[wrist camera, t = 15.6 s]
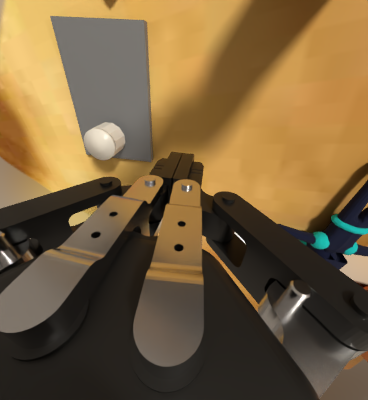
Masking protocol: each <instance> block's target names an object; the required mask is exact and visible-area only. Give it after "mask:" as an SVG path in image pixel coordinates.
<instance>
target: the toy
mask: <svg viewBox="0 0 368 400" xmlns="http://www.w3.org/2000/svg"><path fill="white" fill-rule="evenodd" d="M367 203H368V180H367V181H366V183H365V184H364V185H363V187H362V188H361V189H360V190H359V191H358V192H357V193H356V195H355V196H354V197H353V198H352V199H351V200H350V201H349V203H348V204H347V205H346V206H345V207H344V208H343V210H342V211H341V212H340V213H339V214H335V215H333V216H332V217H331V220H332V222H331V223H330V225H329V226H328V227H327V228H326V229H325V230H324V231H323V232H314V233H309V232H303V231H300V230H296V229H293V228H290V227H287V226H284V225H281V224H278V225H279V226H280V227H282V228H283V229H284V230H286V231H287V232H288V233H290V234H291V235H292V236H294V237H295V238H296V239H298V240H300V242H302V243H303V244H305V245H306V246H307V247H309V248H310V249H311V250H313V251H314V252H315V253H317V254H318V255H319V256H321V257H322V258H323V259H325V260H326V261H327V262H329V263H330V264H332V265H333V266H334V267H336V268H337V269H338V270H339V269H341V268H342V267H343V266H344V265H346V264H347V260H346V259H345V258H344V256H343V254H346V255H351V254H355V255H362V256H368V247H366V246H361V245H358V244H357V243H356V241H357V240H358V239H359V238H360V237H361V236H362V235H364V234H367V233H368V207H367V208H366V209H364V210H363V208H364V207H365V206H366V204H367ZM362 210H363V211H362ZM361 211H362V212H361Z"/></svg>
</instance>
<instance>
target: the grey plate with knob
mask: <svg viewBox="0 0 368 400" xmlns="http://www.w3.org/2000/svg"><path fill="white" fill-rule="evenodd" d="M50 17H51V21H52V25H53V29H54V32H55V36H56V40H57V44H58V48H59V51H60V55H61V59H62V63H63V67H64V70H65V74H66V78H67V82H68V86H69V89H70V93H71V97H72V101H73V105H74V108H75V112H76V116H77V120H78V124H79V127H80V131H81V135H82V139H83V142H84V135H85V133H86V132H87V131H88V130H91V129H92V128H94V127H96V126H98V125H100V124H102V123H104V122H108V123H113V124H115V125H116V126H118V127H119V128H120V129H121V130H122V132H123V134H124V136H125V145H124V147H123V149H122V150H120V151H119V152H118V153H117V154H116V155H115V156H113V158H121V159H130V160H139V161H148V162H152V160H153V144H152V123H151V101H150V79H149V57H148V35H147V22H146V21H144V20H126V19H104V18H82V17H59V16H50ZM84 146H85V144H84ZM85 150H86V154H87V155H91V154H90V153H89V152H88V150H87V149H86V147H85Z"/></svg>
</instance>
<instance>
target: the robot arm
mask: <svg viewBox="0 0 368 400" xmlns="http://www.w3.org/2000/svg"><path fill="white" fill-rule="evenodd" d="M203 168H204V166H203V165H202V163H201V162H194V154H186V153H177V152H171V154H170V155H169V157H168V159H165V158H163V159H161V160H159V161H158V162H157V163H156V165H155V166H154V168H153V169H152V171H151V172H150V174H149V175H146V176H142V177H140V178H139V179H138V180H137V181H136V182H135V183H134V184H133V185H130V186H121V181H120V180H119V179H118V178H115V177H103V178H99V179H96V180H93V181H90V182H86V183H83V184H80V185H76V186H73V187H70V188H67V189H63V190H60V191H57V192H54V193H50V194H47V195H44V196H41V197H37V198H34V199H31V200H27V201H24V202H21V203H18V204H14V205H11V206H8V207H5V208H1V209H0V400H320V399H319V398H320V397H321V396H322V394H323V393H324V392H325V391H326V389H327V388H328V387H329V386H330V384H331V383H332V382H333V380H334V379H335V378H336V377H337V376H338V374H339V373H340V372H341V371H342V369H343V368H344V367H345V366H346V364H347V363H348V362H349V361H350V360H352V359H354V358H356V357H357V356H359V355H361V354H363V353H365V352H367V351H368V291H367V290H365V289H364V288H363V287H361V286H360V285H359V284H357V283H356V282H355V281H353V280H352V279H350V278H349V277H348V276H346V275H345V274H344V273H342V272H341V271H340V270H338V269H337V268H336V267H334V266H333V265H332V264H330V263H329V262H327V261H326V260H325V259H323V258H322V257H321V256H319V255H318V254H317V253H315V252H314V251H313V250H311V249H310V248H309V247H307V246H306V245H305V244H303V243H302V242H300V241H299V240H298V239H296V238H295V237H294V236H292V235H291V234H290V233H288V232H287V231H286V230H284V229H283V228H282V227H280V226H279V225H278V224H276V223H275V222H273V221H272V220H271V219H269V218H268V217H267V216H265V215H264V214H263V213H261V212H260V211H259V210H257V209H256V208H255V207H253V206H252V205H251V204H249V203H248V202H246V201H245V200H244V199H242V198H241V197H240V196H238V195H237V194H234V193H231V192H218V193H216V194H215V195H214V197H213V196H210V195H208V194H206V193H205V192H203V191H202V189H201V184H202V176H203ZM96 205H97V208H98V209H97V210H96V211H95V212H94V213H93V214H92V215H91V216H90V217H89V218H88V219H87V220H86V221H85V222H82V223H80V224H78V225H75V226H70V225H69V222H68V221H69V218H70V217H71V216H72V215H73V214H75V213H78V212H80V211H83V210H85V209H88V208H91V207H93V206H96ZM234 232H236V233H237V234H238V235H239V236H240V237H241V238H242V239H243V240H244V241H245V243H246V244H245V243H244V242H243V241H242V240H241V239H239V238H238V237H237V236H236V235H235V234H234ZM158 233H159V235H158ZM202 235H203V236H205V237H206V241H207V243H208V244H209V246H210V247H211V248H212V249H213V250H214V251H215V253H216V254H217V255H218V256H219V257H220V259H221V260H222V261H223V262H224V263H225V265H226V266H227V267H228V268H229V269H230V271H231V272H232V273H233V274H234V275H235V277H236V278H237V279H238V280H239V281H240V282H241V284H242V285H243V286H244V287H245V288H246V290H247V291H248V292H249V293H250V294H251V296H252V297H253V298H254V299H255V300H256V302H257V303H258V304H259V306H258V312H257V311H256V310H255V308H254V307H253V306H252V304H251V303H250V302H249V301H248V299H247V298H246V297H245V295H244V294H243V293H242V291H241V290H240V289H239V287H238V286H237V285H236V284H235V282H234V281H233V280H232V278H231V277H230V276H229V274H228V273H227V272H226V270H225V269H224V268H223V267H222V265H221V264H220V263H219V262H218V260H217V259H216V258H215V257H214V256H212V255H211V254H210V253H208V252H207V251H205V250H203V249H202ZM29 238H31V239H29ZM258 313H259V314H258Z"/></svg>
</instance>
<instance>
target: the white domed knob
mask: <svg viewBox="0 0 368 400" xmlns="http://www.w3.org/2000/svg"><path fill="white" fill-rule="evenodd" d="M84 144H85V147H86V149H87V150H88V152H89V153H90V154H91V155H92V156H93V157H95V158H97V159H99V160H108V159H110V158H111V157H113V156H115V155H116V154H117V153H118V152H119V151H120V150H122V149H123V147H124V145H125V136H124V134H123V132H122V130H121V129H120V128H119V127H118V126H116V125H115V124H113V123H108V122H104V123H102V124H100V125H98V126H96V127H94V128H92V129H91V130H88V131H87V132H86V133H85V135H84Z"/></svg>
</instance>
